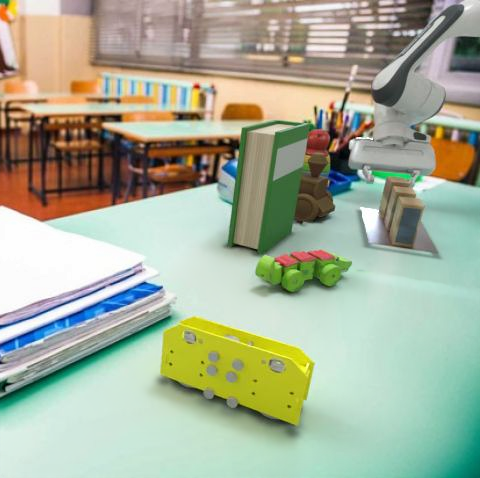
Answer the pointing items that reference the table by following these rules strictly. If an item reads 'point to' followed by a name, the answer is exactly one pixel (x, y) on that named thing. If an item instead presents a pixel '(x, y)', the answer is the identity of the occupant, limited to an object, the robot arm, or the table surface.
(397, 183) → the tile
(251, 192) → the hardback book
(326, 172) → the stacking bear
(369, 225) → the word board
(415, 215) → the tile
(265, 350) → the yellow toy chassis
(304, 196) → the wooden toy train
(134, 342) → the table surface
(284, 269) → the toy crocodile
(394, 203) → the tile
